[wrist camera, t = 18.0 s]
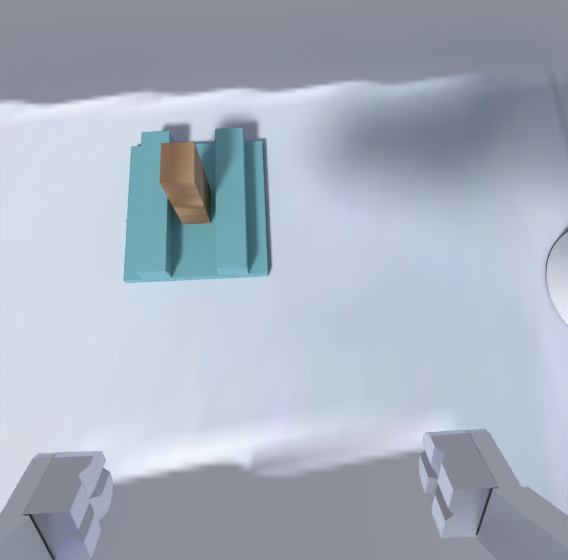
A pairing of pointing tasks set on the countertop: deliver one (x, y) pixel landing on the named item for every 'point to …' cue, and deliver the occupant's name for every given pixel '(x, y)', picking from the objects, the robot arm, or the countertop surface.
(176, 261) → the slotted rack
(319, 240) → the countertop surface
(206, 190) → the brown rectangular block
